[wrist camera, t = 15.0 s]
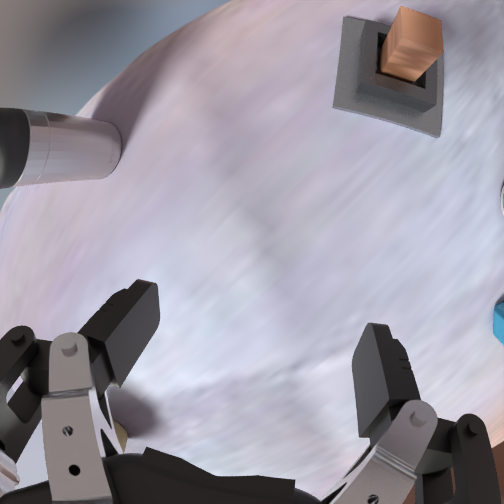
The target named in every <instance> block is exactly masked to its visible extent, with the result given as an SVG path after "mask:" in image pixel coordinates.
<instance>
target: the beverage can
mask: <svg viewBox="0 0 504 504" xmlns="http://www.w3.org/2000/svg"><path fill="white" fill-rule="evenodd" d="M501 209H502V213H503V216H504V186H503V188H502V192H501Z"/></svg>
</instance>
